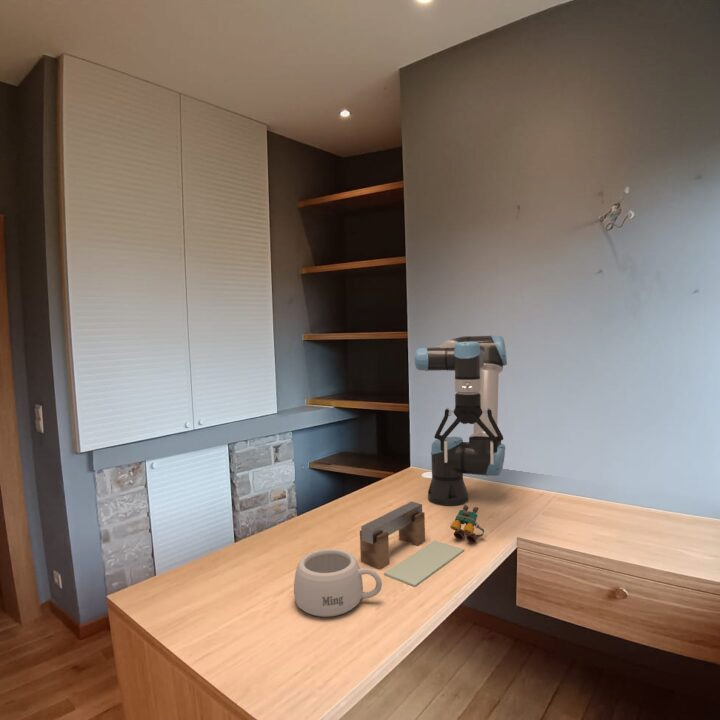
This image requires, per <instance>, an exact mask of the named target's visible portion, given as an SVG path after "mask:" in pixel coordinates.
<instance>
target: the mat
mask: <svg viewBox="0 0 720 720" xmlns="http://www.w3.org/2000/svg"><path fill="white" fill-rule="evenodd" d="M464 552H465V549H464V548H461V547H457V546H454V545H451V544H448V543H445V542H442V541H439V540H436V539H435V540H433V541H432V542H430V543H429V544H427V545H425V546H424V547H422V548H420V549H419V550H417V551H416V552H414V553H413V554H411V555H410V556H408V557H407V558H405V559H403V560H402V561H400V562H398V563H397V564H395V565H394V566H392V567H391V568H389V569H387V571H385V572H383V575H384V576H386V577H389V578H391V579H394V580H396V581H399V582H401V583H404V584H406V585H409V586H411V587H415V588H416V587H417V586H418V585H420V584H422V583H423V582H425V580H426V579H428V578H430V577H431V576H432V575H434V574H435V573H436V572H438V571H439V570H441V569H442V568H443V567H444V566H446V565H447V564H448V563H450V562H451V561H453V560H455V558H457V557H458V556H459V555H460V554H462V553H464Z"/></svg>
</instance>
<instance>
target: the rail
mask: <svg viewBox="0 0 720 720" xmlns="http://www.w3.org/2000/svg"><path fill="white" fill-rule="evenodd" d="M421 512H423V504H422V503H420V502H419V503H418V502H416V501H415V502H414V501H409V502H408V503H406V504H403V505H401V506H400V507H397V508H395V509H393V510H392V511H389V512H387V513H385V514H384V515H383V514H382V515H381V516H379V517H377V518H375V519H373V520H371V521H369V522H368V523H365V524H363V525H362V526H361V527H360V528H361V530H360V531H361V533H362V541H365V542H367V543H370V544H374V543H376V542H377V540H376V536H378V535H380V534H382V533H384V532H388V537H389V536H391V535H392V534H395V533H396V532H399V530H400V529H401V528H403V527H405V526H407V525H409V524H410V523H412V522H414V516H415V515H417V514H419V513H421Z"/></svg>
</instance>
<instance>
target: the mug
mask: <svg viewBox="0 0 720 720" xmlns="http://www.w3.org/2000/svg"><path fill="white" fill-rule="evenodd" d="M362 575H370V577H373V579H374V581H375V587H374V589H372V590H370V591H364V590H363V589H364V585H363V577H362ZM293 582H294V583H293V595H294V600H295V604H296V605H297V606H298V607H299V609H301V610H302V611H304V612H305V613H307V614H309V615H311V616H315V617H321V618H328V617H329V618H330V617H336V616H340V615H343V614H346V613H348V612H349V611H351V610H353V609H354V608H355V607H356V606H357V605H359V603H360V601H361V599H371V598H373V597H375V596H377V595H378V594H379V593H380V592H381V590H382V587H383V586H382V585H383V582H382V579H381V576H380V575H379V573H378V572H377V571H376V570H374V569H373V568H370V567H364V568H362V567H361V566H360V565H359V562H358V560H357V558H356V557H355V555H354V554H352V552H349V551H347V550H344V549H340V548H339V549H338V548H321V549H318V550H313V551H311V552H309V553H307V554H305V555H304V556H302V558H300V560H299V561H298V563H297V566H296V570H295V574H294V581H293Z"/></svg>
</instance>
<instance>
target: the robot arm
mask: <svg viewBox="0 0 720 720" xmlns="http://www.w3.org/2000/svg"><path fill="white" fill-rule="evenodd" d="M414 365H415V368H416V369H417V370H418V371H425V372H427V371H428V372H431V371H434V372H435V371H436V372H437V371H439V372H440V371H446V372H448V371H451V372H452V371H454V392H455V394H454V402H455V404H454V406H455V407H454V409H453V408H452V409H451V408H449V407H446V408H445V410H444V416H443V418H442V420H441V421H440V424H439V426H438V428H437V430H436V432H435V434H434V439H435V440H433V441H432V443H431V451H430V456H431V480H430V481H431V482H430V484H429V487H428V491H427V499H428V501H429V502H430V503H433V504H435V505H440V506H448V507H449V506H450V507H451V506H452V507H455V506H461V505H465V504H466V503H467V502H468V501H469V493H468V490H467V486H466V484H465V481H464V475H465V474H466V475H477V476H486V477H489V476H492V477H496V476H500V475H501V473H502V471H503V467H504V462H505V457H506V456H505V455H506V444H504V443H502V441H504V435H503V434H502V432H501V430H500V428H499V426H498V416H499V414H498V413H499V411H498V410H499V377H500V376H499V375H500V373H501V372H502V371H503V369H504V367H505V366H507V365H508V357H507V350H506V344H505V340H504V337H503V336H500V335H492V334H491V335H475V336H473V335H472V336H471V335H467V336H459V337H455V338H452V339H448V340H446V341H444V342H442V343H441V345H440V344H439V345H437V346H434V347H422V348H421V347H419V348H417V349H416V351H415V353H414ZM452 414H454V416H455V417H456V418H455V420H454V421H453V422H452V423H451V424H450V426H448V428H447V429H446V430H445V431H444V433H443V434H442V431H443V429H444V426H445V425H446V423H447V421H448V419H449V417H451V416H452ZM459 424H462V425H466V424H467V425H469V424H470V425H473V432H472V434H471V435H470V436H469V437H468V441H464V439H463V438H462V437H461V436H449V435H450V434H451V433H452V432H453V431H454V430H455V428H457V426H458V425H459ZM441 434H442V435H441Z"/></svg>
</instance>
